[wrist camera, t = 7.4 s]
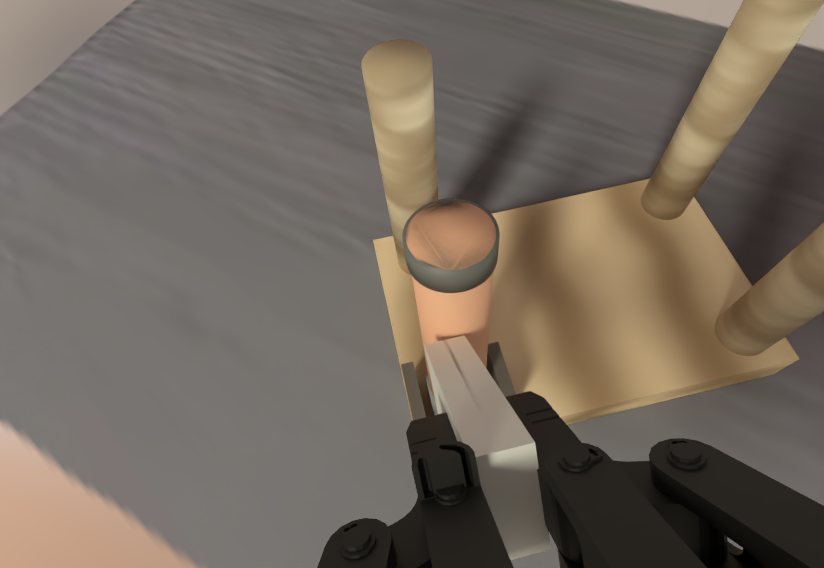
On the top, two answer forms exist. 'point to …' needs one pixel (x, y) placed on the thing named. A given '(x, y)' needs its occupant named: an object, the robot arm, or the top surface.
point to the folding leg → (452, 272)
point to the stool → (609, 250)
